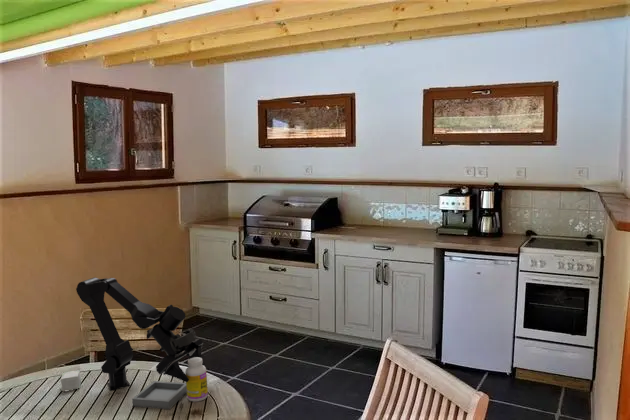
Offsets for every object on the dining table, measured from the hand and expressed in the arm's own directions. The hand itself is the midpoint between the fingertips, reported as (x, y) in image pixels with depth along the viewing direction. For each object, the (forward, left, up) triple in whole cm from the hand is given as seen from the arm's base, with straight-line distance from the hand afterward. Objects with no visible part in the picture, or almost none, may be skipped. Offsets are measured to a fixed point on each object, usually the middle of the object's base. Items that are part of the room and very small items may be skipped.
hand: (196, 375), depth 171 cm
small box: (-35, -34, -8) cm, 50 cm away
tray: (-7, -10, -8) cm, 15 cm away
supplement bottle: (0, 0, -8) cm, 8 cm away
